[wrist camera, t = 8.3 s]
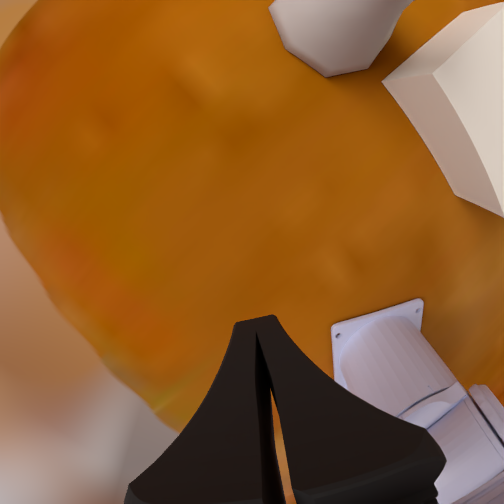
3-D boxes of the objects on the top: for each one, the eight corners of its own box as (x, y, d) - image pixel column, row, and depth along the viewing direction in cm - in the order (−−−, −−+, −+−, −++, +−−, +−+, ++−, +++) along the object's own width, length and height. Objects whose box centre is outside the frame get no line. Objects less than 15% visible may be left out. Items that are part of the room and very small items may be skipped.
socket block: (521, 119, 17) (568, 128, 12) (456, 198, 20) (506, 222, 15) (462, 12, 14) (510, 0, 9) (381, 81, 16) (432, 73, 11)
